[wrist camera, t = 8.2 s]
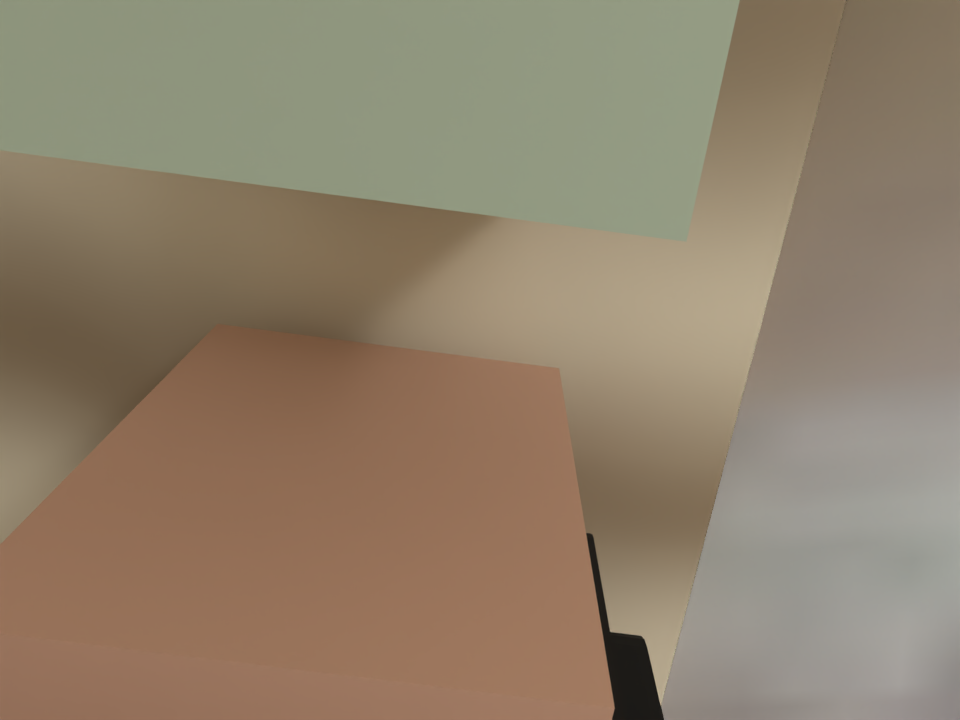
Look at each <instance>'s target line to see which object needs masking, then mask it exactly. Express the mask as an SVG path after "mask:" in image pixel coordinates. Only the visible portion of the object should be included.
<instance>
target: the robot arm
mask: <svg viewBox="0 0 960 720" xmlns="http://www.w3.org/2000/svg"><path fill="white" fill-rule="evenodd" d="M586 536H587V542H588V548H589V554H590V560H591V566H592V572H593V578H594V585H595V591H596V597H597V603H598V609H599V615H600V621H601V627H602V633H603V640H604V646H605V652H606V658H607V664H608V670H609V676H610V682H611V688H612V694H613V701H614V707H615V709H614V713H613V717H612V720H664V718H663V714H662V709H661V705H660V701H659V696H658V692H657V688H656V683H655V679H654V675H653V670H652V666H651V662H650V657H649V653H648V649H647V645H646V642H645V639H644V638H643V637H642V636H639V635H631V634H623V633H615V632H610V628H609V622H608V617H607V611H606V605H605V599H604V594H603V588H602V582H601V577H600V571H599V565H598V560H597V554H596V548H595V542H594V537H593V534H591V533H586Z"/></svg>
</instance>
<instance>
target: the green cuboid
mask: <svg viewBox="0 0 960 720" xmlns="http://www.w3.org/2000/svg"><path fill="white" fill-rule="evenodd" d="M739 1H740V0H0V150H2V151H9V152H17V153H24V154H32V155H39V156H47V157H54V158H62V159H69V160H77V161H84V162H92V163H99V164H107V165H114V166H122V167H129V168H137V169H144V170H152V171H159V172H167V173H174V174H182V175H189V176H197V177H204V178H212V179H219V180H227V181H234V182H242V183H249V184H257V185H264V186H272V187H279V188H287V189H294V190H302V191H309V192H317V193H324V194H332V195H339V196H347V197H354V198H362V199H369V200H377V201H384V202H392V203H399V204H407V205H414V206H422V207H429V208H437V209H445V210H452V211H460V212H467V213H475V214H482V215H490V216H497V217H505V218H512V219H520V220H527V221H535V222H542V223H550V224H557V225H565V226H572V227H580V228H587V229H595V230H602V231H610V232H617V233H625V234H632V235H640V236H647V237H655V238H662V239H670V240H677V241H685V242H686V241H687V237H688V232H689V228H690V223H691V219H692V214H693V209H694V205H695V200H696V196H697V191H698V187H699V182H700V178H701V173H702V169H703V164H704V160H705V155H706V151H707V146H708V142H709V137H710V133H711V128H712V123H713V119H714V114H715V110H716V105H717V101H718V96H719V92H720V87H721V83H722V78H723V74H724V69H725V65H726V60H727V56H728V51H729V47H730V42H731V38H732V33H733V28H734V24H735V19H736V15H737V10H738V6H739Z"/></svg>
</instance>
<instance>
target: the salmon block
mask: <svg viewBox="0 0 960 720" xmlns="http://www.w3.org/2000/svg"><path fill="white" fill-rule="evenodd" d="M614 709H615V707H614V701H613V694H612V688H611V682H610V676H609V670H608V664H607V658H606V652H605V646H604V640H603V633H602V627H601V621H600V615H599V609H598V603H597V597H596V591H595V585H594V578H593V572H592V566H591V560H590V554H589V548H588V542H587V536H586V530H585V523H584V517H583V511H582V505H581V499H580V493H579V487H578V481H577V475H576V468H575V462H574V456H573V450H572V444H571V438H570V432H569V426H568V420H567V414H566V407H565V401H564V395H563V389H562V383H561V377H560V371H559V368H554V367H546V366H538V365H531V364H523V363H515V362H507V361H500V360H492V359H484V358H477V357H469V356H461V355H453V354H446V353H438V352H430V351H423V350H415V349H407V348H399V347H392V346H384V345H376V344H369V343H361V342H353V341H346V340H338V339H330V338H322V337H315V336H307V335H299V334H292V333H284V332H276V331H268V330H261V329H253V328H245V327H238V326H230V325H222V324H217V325H216V326H215V327H214V328H213V329H212V330H211V331H210V332H209V333H208V334H207V335H206V336H205V337H204V338H203V339H202V340H201V341H200V342H199V343H198V344H197V345H196V346H195V347H194V348H193V349H192V350H191V351H190V352H189V353H188V354H187V355H186V356H185V357H184V358H183V359H182V360H181V361H180V362H179V363H178V364H177V365H176V366H175V367H174V368H173V369H172V370H171V371H170V372H169V374H168V375H167V376H166V377H165V378H164V379H163V380H162V381H161V382H160V383H159V384H158V385H157V386H156V387H155V388H154V389H153V390H152V391H151V392H150V393H149V394H148V395H147V396H146V397H145V398H144V399H143V400H142V401H141V402H140V403H139V404H138V405H137V406H136V407H135V408H134V409H133V410H132V411H131V412H130V413H129V414H128V415H127V416H126V417H125V418H124V419H123V420H122V421H121V422H120V423H119V424H118V425H117V426H116V427H115V428H114V429H113V430H112V431H111V432H110V433H109V434H108V435H107V436H106V437H105V438H104V440H103V441H102V442H101V443H100V444H99V445H98V446H97V447H96V448H95V449H94V450H93V451H92V452H91V453H90V454H89V455H88V456H87V457H86V458H85V459H84V460H83V461H82V462H81V463H80V464H79V465H78V466H77V467H76V468H75V469H74V470H73V471H72V472H71V473H70V474H69V475H68V476H67V477H66V478H65V479H64V480H63V481H62V482H61V483H60V484H59V485H58V486H57V487H56V488H55V489H54V490H53V491H52V492H51V493H50V494H49V495H48V496H47V497H46V498H45V499H44V500H43V501H42V502H41V503H40V504H39V505H38V507H37V508H36V509H35V510H34V511H33V512H32V513H31V514H30V515H29V516H28V517H27V518H26V519H25V520H24V521H23V522H22V523H21V524H20V525H19V526H18V527H17V528H16V529H15V530H14V531H13V532H12V533H11V534H10V535H9V536H8V537H7V538H6V539H5V540H4V541H3V542H2V543H1V544H0V720H612V717H613V713H614Z"/></svg>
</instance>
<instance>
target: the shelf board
mask: <svg viewBox="0 0 960 720" xmlns="http://www.w3.org/2000/svg"><path fill="white" fill-rule="evenodd" d="M846 1H847V0H740V1H739V6H738V10H737V15H736V19H735V24H734V28H733V33H732V38H731V42H730V47H729V51H728V56H727V60H726V65H725V69H724V74H723V78H722V83H721V87H720V92H719V96H718V101H717V105H716V110H715V114H714V119H713V123H712V128H711V133H710V137H709V142H708V146H707V151H706V155H705V160H704V164H703V169H702V173H701V178H700V182H699V187H698V191H697V196H696V200H695V205H694V209H693V214H692V219H691V223H690V228H689V232H688V237H687V241H686V242H685V241H677V240H670V239H662V238H655V237H647V236H640V235H632V234H625V233H617V232H610V231H602V230H595V229H587V228H580V227H572V226H565V225H557V224H550V223H542V222H535V221H527V220H520V219H512V218H505V217H497V216H490V215H482V214H475V213H467V212H460V211H452V210H445V209H437V208H429V207H422V206H414V205H407V204H399V203H392V202H384V201H377V200H369V199H362V198H354V197H347V196H339V195H332V194H324V193H317V192H309V191H302V190H294V189H287V188H279V187H272V186H264V185H257V184H249V183H242V182H234V181H227V180H219V179H212V178H204V177H197V176H189V175H182V174H174V173H167V172H159V171H152V170H144V169H137V168H129V167H122V166H114V165H107V164H99V163H92V162H84V161H77V160H69V159H62V158H54V157H47V156H39V155H32V154H24V153H17V152H9V151H2V150H0V544H1V543H2V542H3V541H4V540H5V539H6V538H7V537H8V536H9V535H10V534H11V533H12V532H13V531H14V530H15V529H16V528H17V527H18V526H19V525H20V524H21V523H22V522H23V521H24V520H25V519H26V518H27V517H28V516H29V515H30V514H31V513H32V512H33V511H34V510H35V509H36V508H37V507H38V505H39V504H40V503H41V502H42V501H43V500H44V499H45V498H46V497H47V496H48V495H49V494H50V493H51V492H52V491H53V490H54V489H55V488H56V487H57V486H58V485H59V484H60V483H61V482H62V481H63V480H64V479H65V478H66V477H67V476H68V475H69V474H70V473H71V472H72V471H73V470H74V469H75V468H76V467H77V466H78V465H79V464H80V463H81V462H82V461H83V460H84V459H85V458H86V457H87V456H88V455H89V454H90V453H91V452H92V451H93V450H94V449H95V448H96V447H97V446H98V445H99V444H100V443H101V442H102V441H103V440H104V438H105V437H106V436H107V435H108V434H109V433H110V432H111V431H112V430H113V429H114V428H115V427H116V426H117V425H118V424H119V423H120V422H121V421H122V420H123V419H124V418H125V417H126V416H127V415H128V414H129V413H130V412H131V411H132V410H133V409H134V408H135V407H136V406H137V405H138V404H139V403H140V402H141V401H142V400H143V399H144V398H145V397H146V396H147V395H148V394H149V393H150V392H151V391H152V390H153V389H154V388H155V387H156V386H157V385H158V384H159V383H160V382H161V381H162V380H163V379H164V378H165V377H166V376H167V375H168V374H169V372H170V371H171V370H172V369H173V368H174V367H175V366H176V365H177V364H178V363H179V362H180V361H181V360H182V359H183V358H184V357H185V356H186V355H187V354H188V353H189V352H190V351H191V350H192V349H193V348H194V347H195V346H196V345H197V344H198V343H199V342H200V341H201V340H202V339H203V338H204V337H205V336H206V335H207V334H208V333H209V332H210V331H211V330H212V329H213V328H214V327H215V326H216V325H217V324H222V325H230V326H238V327H245V328H253V329H261V330H268V331H276V332H284V333H292V334H299V335H307V336H315V337H322V338H330V339H338V340H346V341H353V342H361V343H369V344H376V345H384V346H392V347H399V348H407V349H415V350H423V351H430V352H438V353H446V354H453V355H461V356H469V357H477V358H484V359H492V360H500V361H507V362H515V363H523V364H531V365H538V366H546V367H554V368H559V371H560V377H561V383H562V389H563V395H564V401H565V407H566V414H567V420H568V426H569V432H570V438H571V444H572V450H573V456H574V462H575V468H576V475H577V481H578V487H579V493H580V499H581V505H582V511H583V517H584V523H585V530H586V533H591V534H593V537H594V542H595V548H596V554H597V560H598V565H599V571H600V577H601V582H602V588H603V594H604V599H605V605H606V611H607V617H608V622H609V628H610V632H615V633H623V634H631V635H639V636H642V637H643V638H644V639H645V642H646V645H647V649H648V653H649V657H650V662H651V666H652V670H653V675H654V679H655V683H656V688H657V692H658V696H659V701H660V705H661V704H662V700H663V696H664V692H665V689H666V685H667V681H668V677H669V673H670V670H671V666H672V662H673V658H674V654H675V651H676V647H677V643H678V639H679V635H680V632H681V628H682V624H683V620H684V616H685V613H686V609H687V605H688V601H689V597H690V594H691V590H692V586H693V582H694V578H695V575H696V571H697V567H698V563H699V559H700V556H701V552H702V548H703V544H704V540H705V537H706V533H707V529H708V525H709V521H710V518H711V514H712V510H713V506H714V502H715V499H716V495H717V491H718V487H719V483H720V480H721V476H722V472H723V468H724V464H725V461H726V457H727V453H728V449H729V445H730V442H731V438H732V434H733V430H734V426H735V423H736V419H737V415H738V411H739V407H740V404H741V400H742V396H743V392H744V388H745V385H746V381H747V377H748V373H749V369H750V366H751V362H752V358H753V354H754V350H755V347H756V343H757V339H758V335H759V331H760V328H761V324H762V320H763V316H764V312H765V309H766V305H767V301H768V297H769V293H770V290H771V286H772V282H773V278H774V274H775V271H776V267H777V263H778V259H779V255H780V252H781V248H782V244H783V240H784V236H785V233H786V229H787V225H788V221H789V218H790V214H791V210H792V206H793V202H794V199H795V195H796V191H797V187H798V183H799V180H800V176H801V172H802V168H803V164H804V161H805V157H806V153H807V149H808V145H809V142H810V138H811V134H812V130H813V126H814V123H815V119H816V115H817V111H818V107H819V104H820V100H821V96H822V92H823V88H824V85H825V81H826V77H827V73H828V69H829V66H830V62H831V58H832V54H833V50H834V47H835V43H836V39H837V35H838V31H839V28H840V24H841V20H842V16H843V12H844V9H845V5H846Z"/></svg>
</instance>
